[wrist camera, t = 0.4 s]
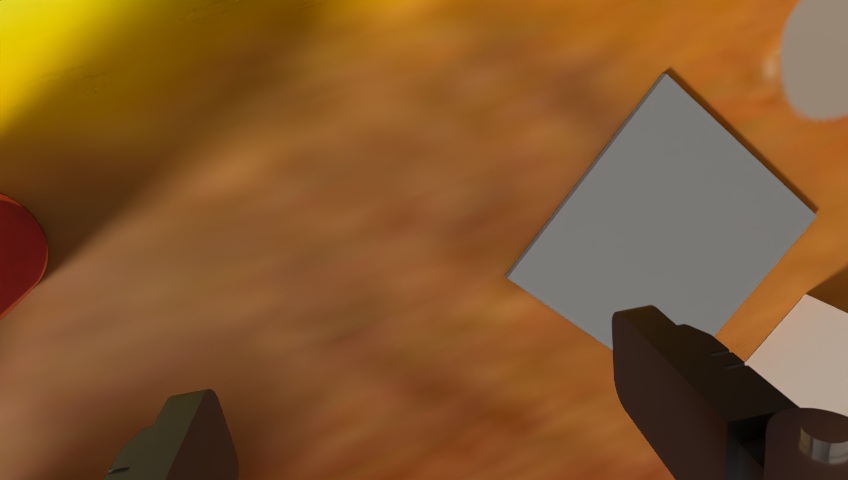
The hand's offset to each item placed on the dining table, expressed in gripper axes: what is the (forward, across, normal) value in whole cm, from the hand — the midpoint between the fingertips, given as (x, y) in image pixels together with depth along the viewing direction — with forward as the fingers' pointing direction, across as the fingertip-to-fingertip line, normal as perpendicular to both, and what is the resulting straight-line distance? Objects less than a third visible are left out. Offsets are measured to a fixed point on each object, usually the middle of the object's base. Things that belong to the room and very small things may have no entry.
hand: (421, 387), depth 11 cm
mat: (+20, -16, +7) cm, 27 cm away
